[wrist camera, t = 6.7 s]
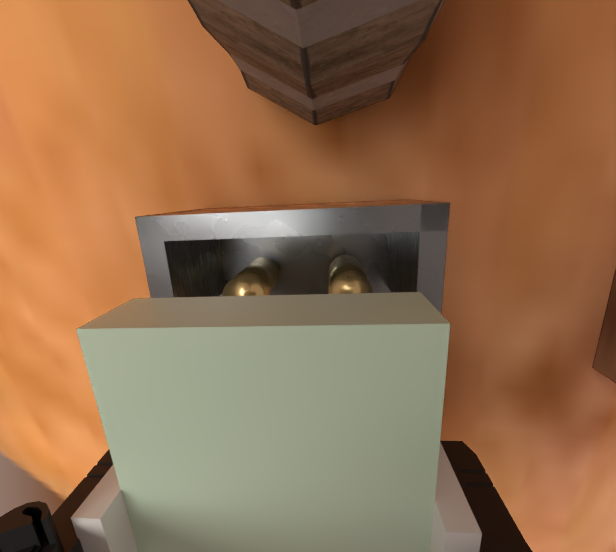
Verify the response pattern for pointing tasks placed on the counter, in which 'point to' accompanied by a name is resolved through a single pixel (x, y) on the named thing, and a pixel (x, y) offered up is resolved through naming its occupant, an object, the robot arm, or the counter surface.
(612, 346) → the block
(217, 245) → the frame
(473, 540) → the robot arm
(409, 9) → the mug
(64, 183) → the counter surface
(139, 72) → the counter surface
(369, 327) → the board
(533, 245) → the counter surface
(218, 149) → the counter surface
